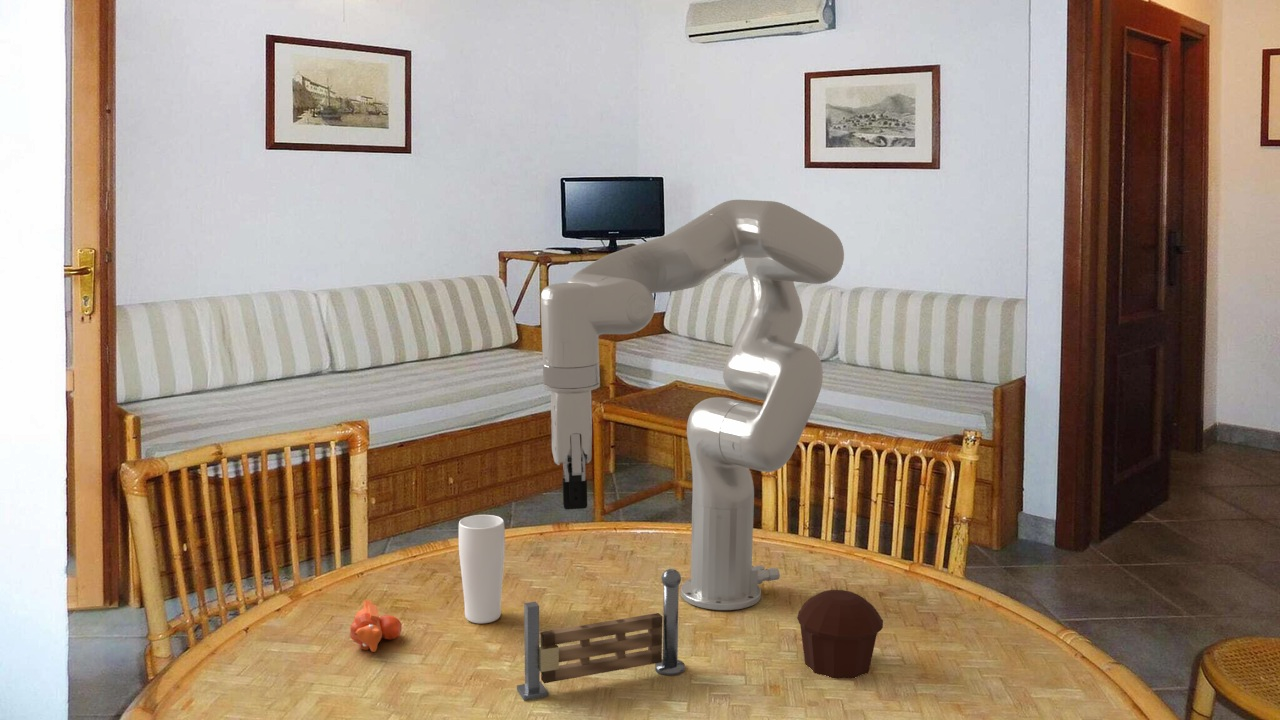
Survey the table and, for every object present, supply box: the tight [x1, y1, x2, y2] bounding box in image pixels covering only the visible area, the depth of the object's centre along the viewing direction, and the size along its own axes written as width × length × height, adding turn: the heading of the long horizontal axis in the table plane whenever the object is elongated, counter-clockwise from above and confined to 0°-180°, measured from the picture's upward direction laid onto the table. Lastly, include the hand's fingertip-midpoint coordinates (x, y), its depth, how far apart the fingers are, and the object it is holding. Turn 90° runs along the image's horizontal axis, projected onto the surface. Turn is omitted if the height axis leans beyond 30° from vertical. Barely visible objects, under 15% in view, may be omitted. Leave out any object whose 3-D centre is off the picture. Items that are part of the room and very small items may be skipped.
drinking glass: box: [457, 514, 506, 624], centre depth 170 cm, size 7×7×15 cm
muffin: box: [796, 589, 884, 679], centre depth 156 cm, size 12×11×10 cm
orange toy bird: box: [349, 599, 403, 653], centre depth 162 cm, size 5×8×12 cm
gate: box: [540, 612, 663, 684], centre depth 150 cm, size 16×1×6 cm, turn 113°
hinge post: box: [654, 568, 686, 677], centre depth 153 cm, size 4×4×14 cm
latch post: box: [516, 601, 560, 701], centre depth 146 cm, size 5×3×12 cm
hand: (575, 506), depth 157 cm, fingers closed
